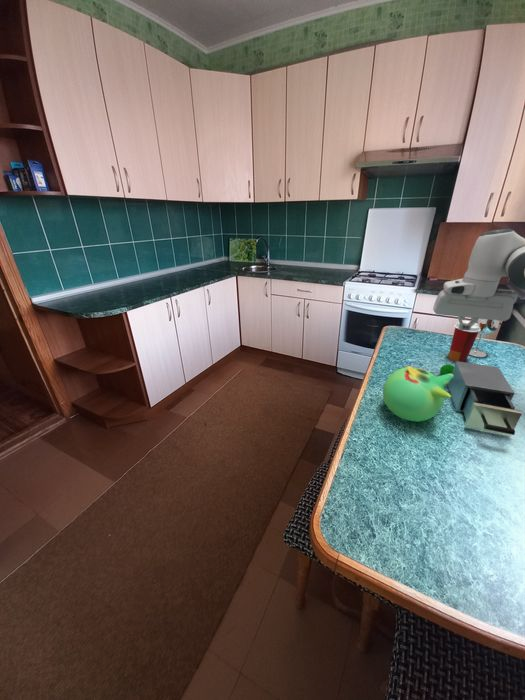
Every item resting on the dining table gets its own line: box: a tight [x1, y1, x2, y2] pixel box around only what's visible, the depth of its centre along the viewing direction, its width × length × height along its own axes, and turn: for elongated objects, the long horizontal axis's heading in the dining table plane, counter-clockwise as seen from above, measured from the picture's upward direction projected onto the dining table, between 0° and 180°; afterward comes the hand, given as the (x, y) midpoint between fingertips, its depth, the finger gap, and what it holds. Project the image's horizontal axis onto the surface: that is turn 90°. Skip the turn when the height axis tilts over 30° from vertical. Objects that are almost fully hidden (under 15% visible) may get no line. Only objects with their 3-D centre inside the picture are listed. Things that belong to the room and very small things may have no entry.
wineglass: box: [468, 319, 501, 358], centre depth 115 cm, size 8×8×20 cm
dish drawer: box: [461, 388, 523, 437], centre depth 80 cm, size 19×10×8 cm, turn 159°
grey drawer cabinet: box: [447, 361, 515, 413], centre depth 89 cm, size 15×12×10 cm
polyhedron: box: [439, 363, 455, 376], centre depth 103 cm, size 5×5×5 cm
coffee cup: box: [448, 320, 481, 363], centre depth 112 cm, size 8×8×15 cm
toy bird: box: [382, 365, 454, 422], centre depth 84 cm, size 18×17×15 cm
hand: (463, 329), depth 94 cm, fingers closed
